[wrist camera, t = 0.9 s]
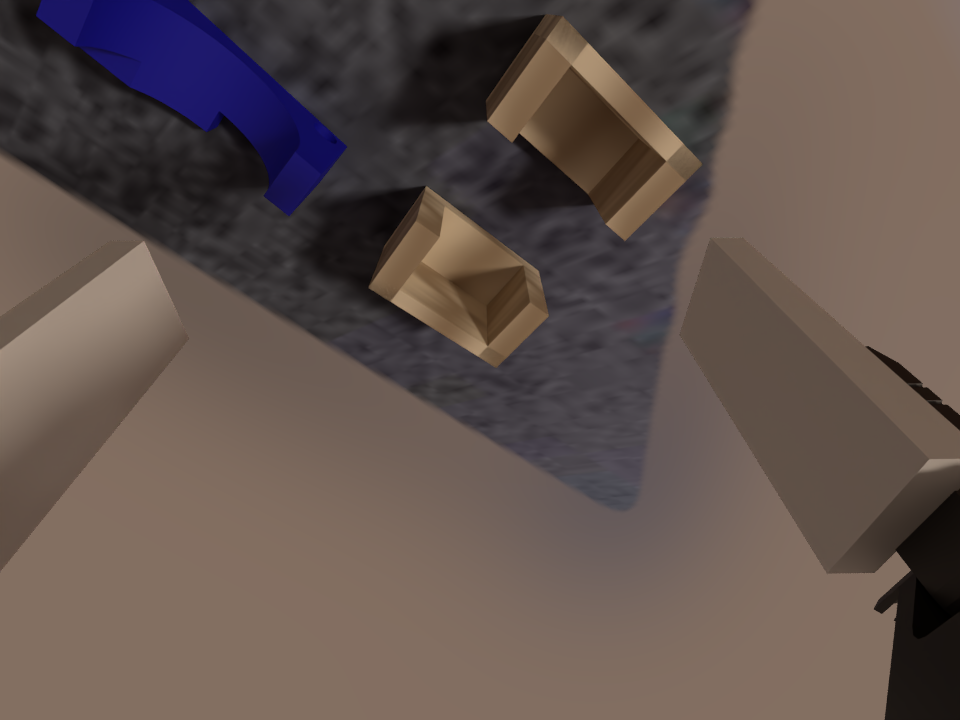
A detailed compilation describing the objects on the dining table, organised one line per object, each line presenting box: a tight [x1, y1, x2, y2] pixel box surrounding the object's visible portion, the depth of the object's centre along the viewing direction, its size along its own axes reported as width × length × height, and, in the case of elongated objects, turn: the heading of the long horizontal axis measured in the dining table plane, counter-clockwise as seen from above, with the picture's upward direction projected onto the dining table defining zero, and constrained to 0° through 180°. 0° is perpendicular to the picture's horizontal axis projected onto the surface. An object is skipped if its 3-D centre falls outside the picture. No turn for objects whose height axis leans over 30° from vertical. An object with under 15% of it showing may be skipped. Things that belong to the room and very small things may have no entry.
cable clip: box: [36, 0, 347, 216], centre depth 24 cm, size 12×4×6 cm, turn 45°
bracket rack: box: [368, 14, 702, 367], centre depth 27 cm, size 10×16×6 cm, turn 142°
